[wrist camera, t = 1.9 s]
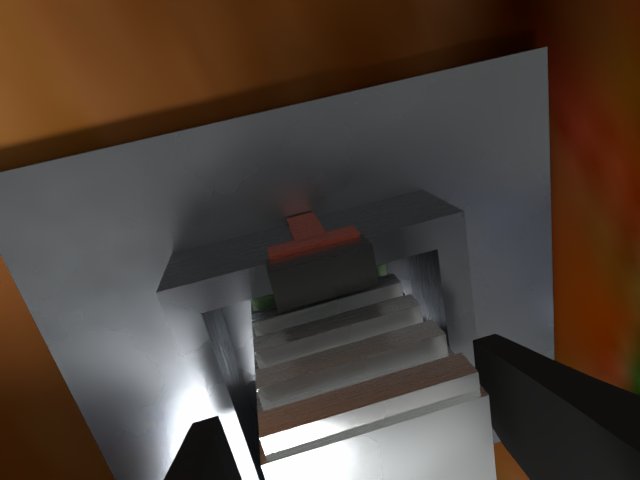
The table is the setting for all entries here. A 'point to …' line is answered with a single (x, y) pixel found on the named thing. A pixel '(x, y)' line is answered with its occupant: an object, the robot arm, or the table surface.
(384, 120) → the stand base
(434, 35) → the table surface
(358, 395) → the layered block
